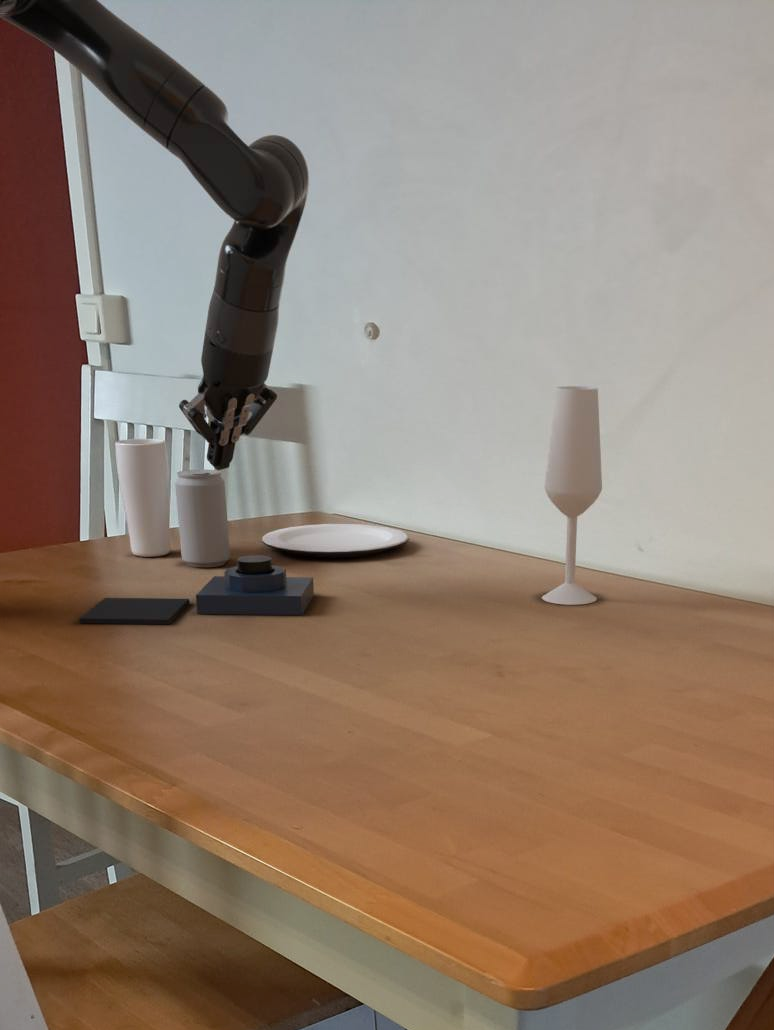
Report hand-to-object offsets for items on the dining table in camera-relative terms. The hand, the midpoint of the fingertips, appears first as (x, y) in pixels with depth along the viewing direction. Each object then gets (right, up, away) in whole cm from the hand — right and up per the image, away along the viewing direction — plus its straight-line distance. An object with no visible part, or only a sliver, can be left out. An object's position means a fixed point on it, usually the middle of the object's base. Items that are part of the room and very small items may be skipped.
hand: (218, 465), depth 153 cm
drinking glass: (-14, -5, +24) cm, 29 cm away
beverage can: (-5, -8, +19) cm, 21 cm away
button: (+5, -14, -4) cm, 15 cm away
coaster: (-8, -19, -7) cm, 22 cm away
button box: (+5, -17, -3) cm, 18 cm away
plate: (+11, -3, +29) cm, 31 cm away
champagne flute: (+42, -16, +2) cm, 45 cm away
